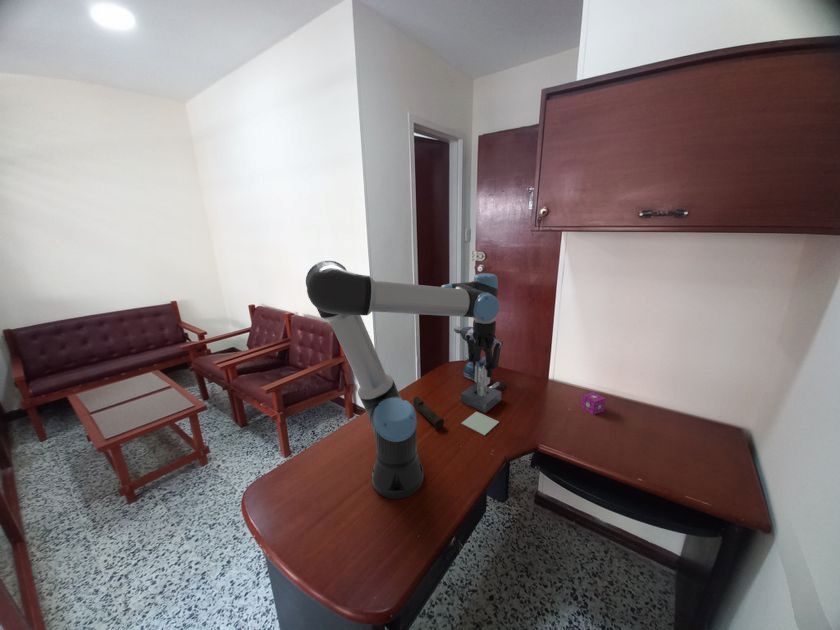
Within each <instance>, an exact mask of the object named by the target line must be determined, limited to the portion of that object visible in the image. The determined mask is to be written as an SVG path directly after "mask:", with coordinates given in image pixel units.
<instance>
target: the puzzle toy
mask: <svg viewBox="0 0 840 630" xmlns="http://www.w3.org/2000/svg"><path fill="white" fill-rule="evenodd" d="M605 404H606V398H605V397H604V396H601V395H600V394H598V393H596V392H593V391H592V392H588V393H585V394H582V397H581V403H580V408H581V409H583V410H585V411H586V412H588V413H590V414H591V415H592V416H594V415H597V414H600V413H603V412H604V411H605V407H606V406H605Z"/></svg>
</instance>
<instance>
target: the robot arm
mask: <svg viewBox="0 0 840 630" xmlns="http://www.w3.org/2000/svg"><path fill="white" fill-rule="evenodd" d="M305 286H306V293H307V296H308V299H309V301H310V302H311V304H312V305H313V306H314V307H315V308H316V311H317V312H318V313H319V316H320V318H321V319H324V320H327V321H329V324H330V326H331V328H332V330H333V332H334V334H335V336H336V338H337V340H338V343H339V345H340V346H341V349H342V351H343V353H344V356H345V357H346V359H347V361H348V365H349V366H350V368H351V370H352V372H353V375H354V376H355V378H356V381H357V383H358V384H359V388H358V390H357V395H358V397H359V399H360V401H361V403H362V405H363V407H364V409H365V411H366V414H367V417H368V420H369V422H370V426H371V428H372V429H371V430H372V431H373V434H374V441H375V452H376V453H375V454H376V458H375V461H374V466H373V468H372V472H371V480H372V481H371V482H372V485H373V488H374V490H375V491H376V493H378V494H379V495H380V496H382V497H384V498H387V499H393V500H398V499H404V498H408V497H411V496H412V495H413V494H415V493H416V492H417V491H418V490H419V489H420V488H421V486H422V485H423V482H424V467H423V464H422V462H421V459H420V457H419V455H418V442H417V441H418V440H417V439H418V438H417V423H418V420H417V419H418V418H417V414H416V410H415V409H416V408H415V406H414V405H413V404H412V403H410V402H409V401H408V400H406V399H404V398H402V397H401V394H400V392H399V390H398V388H397V385H396V383H395V381H394V378H393V377H392V376H391V375H390V374H386V372H385V369H384V367H383V365H382V363H381V359H380V358H379V356H378V353H377V351H376V348H375V346H374V344H373V340H372V339H371V336H370V334H369V331H368V330H367V327H366V325H365V323H364V320H363V317H362V316H369V315H370V314H371V313H373V312H375V313H388V314H389V313H390V314H391V313H393V314H406V315H407V314H411V315H425V316H426V315H429V316H430V315H431V316H445V317H447V316H449V317H462V318H472V319H473V322H472V327H473V333H472V334H468V335H466V339H467V341H466V343H467V342H468V344H467V355H468V356H467V358H468V362H472V363H473V372H475V382H474V383H475V384H476V383H478V367H477V366H476V361H478V360H480V355H481V354H482V351H483V350H482V346H483V347H484V350H485V352H484V357H486V366H487V368H485V370H484V386H488V385H489V384H491V378H492V377H493V370H495V369H496V368H498V367H499V362H500V353H501V348H502V346H503V344H504V343H503V341H499V340H498V339H497V337H496V329H497V328H496V325H497V322H496V320H497V315H498V314H499V312H500V301H499V299H498V290H499V280H498V276H497V275H496V274H494V273H485V272H484V273H477V274H475V275H474V277H473V281H468V282H467V281H465V282H455V283H452V282H451V283H447V284H443V285H441V286H433V285H423V284H415V283H413V284H412V283H402V282H392V281H382V280H374V279H373V277H372V276H371V275H367V274H366V275H365V274H364V275H363V274H359V273H354V272H352V271H348V270H347V268H346V267H345V266H344V265H343V264H341V263H339V262H337V261H336V260H335V261H334V260H323V261H319V262H317V263H315V264H314V265H313V266H312V267H311V268H310V269H309V270H308V272H307V273H306V277H305ZM474 339H475V341H476V343H475V346H474ZM493 342H494V345H493V347H492V343H493ZM492 349H493V351H492ZM403 399H404V400H403Z"/></svg>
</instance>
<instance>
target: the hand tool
mask: <svg viewBox="0 0 840 630" xmlns="http://www.w3.org/2000/svg"><path fill="white" fill-rule="evenodd" d="M412 401H413V402H412V403H413V407H414V409H416V410H417V412H420V413H421V414H422V415H423V417H425V418H426V419H427V421H429V422H430V423H431V424H432V425H433V426H434V429H435V430H439V429H441V428H443V427H444V425H445V419H444V418H442V417H440V416H438V414H436V412H435V411H433V410H432V409H431V408H430V407H428V405H426V404H425V403H424V400H422V398H420V397H418V396H414V397H413V399H412Z"/></svg>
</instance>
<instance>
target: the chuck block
mask: <svg viewBox="0 0 840 630" xmlns="http://www.w3.org/2000/svg"><path fill="white" fill-rule="evenodd" d="M500 385H501V383H500V382H499V381H496V382H495V383H493V384H491V386H488V385H487V392H486V395H485V396H480V395H478V394H477V390H478V382H477V383H476V382H475V383H474V384H473V385H470V386H469V387H468V388H466V389H465V390H464V391H462V392H460V402H461V403H463V404H465V405H467V406H470V407H471V408H474V409H475V410H476V409H477V410H479V411H480V412H482V413H485V414H486V413H487V412H489V411H490V410H491V409H492V408H493V407H495V406H497V404H498V403H500V402H501V401H502V391H501V390H498V389H497V387H499V386H500Z"/></svg>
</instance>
